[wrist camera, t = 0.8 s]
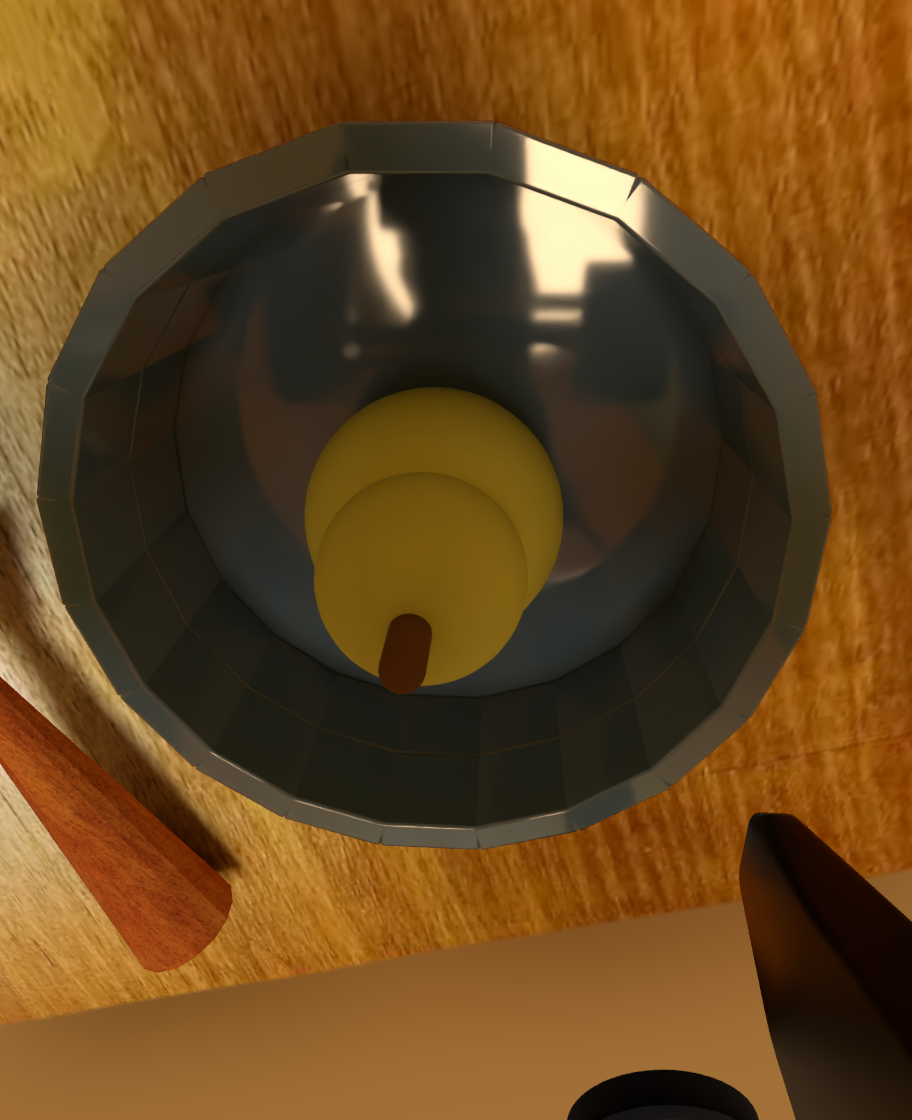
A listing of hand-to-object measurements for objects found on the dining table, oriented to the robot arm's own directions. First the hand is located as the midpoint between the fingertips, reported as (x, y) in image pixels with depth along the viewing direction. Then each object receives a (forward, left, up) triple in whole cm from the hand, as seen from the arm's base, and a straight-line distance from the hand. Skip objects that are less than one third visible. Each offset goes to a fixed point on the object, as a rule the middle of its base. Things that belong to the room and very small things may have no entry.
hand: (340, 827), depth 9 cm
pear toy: (0, 0, -11) cm, 11 cm away
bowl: (0, 0, -12) cm, 12 cm away
